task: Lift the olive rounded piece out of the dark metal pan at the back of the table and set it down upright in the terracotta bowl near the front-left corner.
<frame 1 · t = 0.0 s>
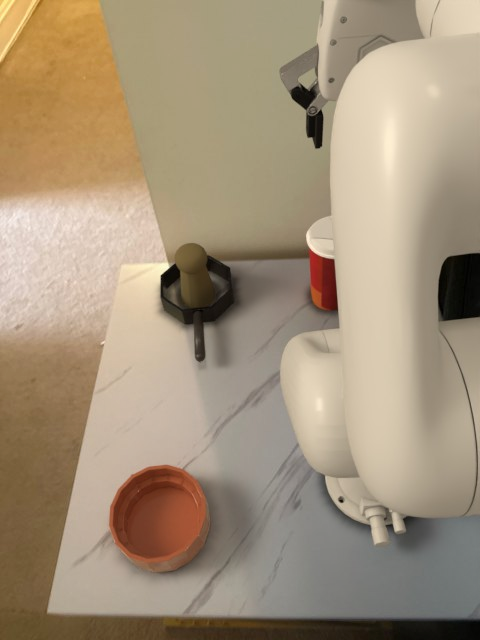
hand: (360, 136, 61), 37 cm above the table, tool pointing down, fingers open, 9 cm apart
olive rounded piece: (198, 296, 97), resting in pan
coffee cup: (328, 297, 95), on the table
beer can: (387, 373, 85), on the table
pan: (198, 295, 97), on the table
bowl: (164, 524, 74), on the table
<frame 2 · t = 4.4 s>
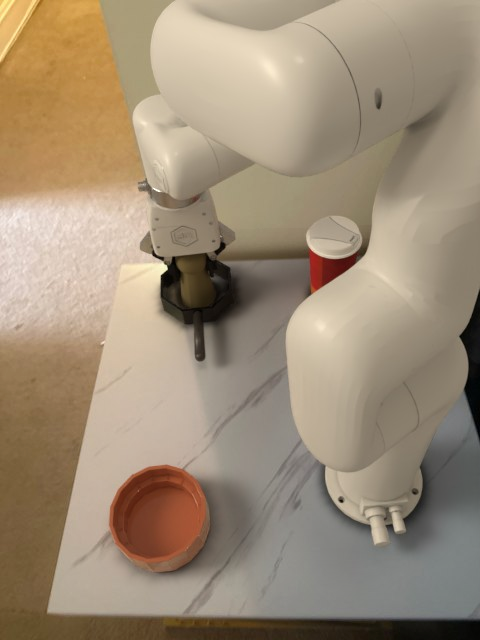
hand: (193, 272, 92), 6 cm above the table, tool pointing down, fingers closed on olive rounded piece, 5 cm apart
olive rounded piece: (198, 296, 97), resting in pan, touching gripper
everything else where it was.
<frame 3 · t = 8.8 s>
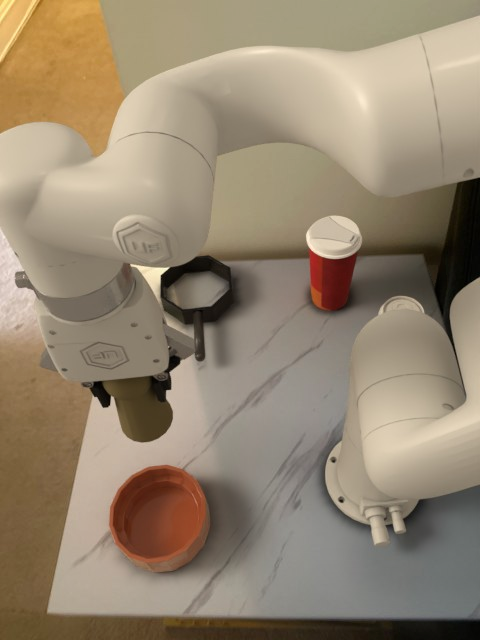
hand: (135, 392, 59), 23 cm above the table, tool pointing down, fingers closed on olive rounded piece, 5 cm apart
olive rounded piece: (147, 418, 64), point 17 cm above the table, touching gripper
everything else where it was.
when the fingers open (6 cm above the table, at t = 13.6 s): olive rounded piece stays where it is, resting on bowl.
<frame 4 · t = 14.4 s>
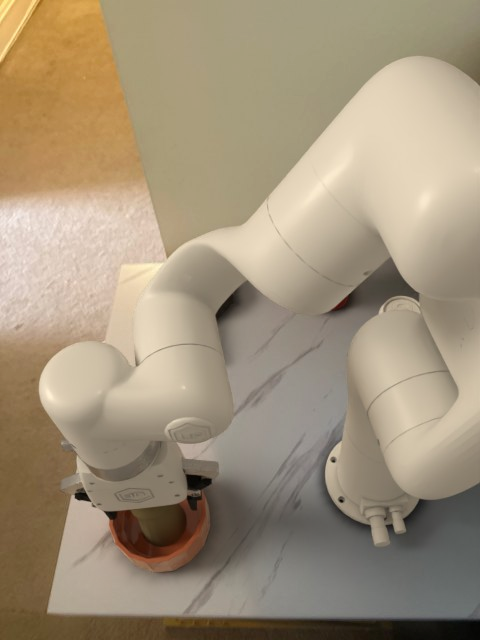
hand: (154, 502, 67), 8 cm above the table, tool pointing down, fingers open, 9 cm apart
olive rounded piece: (164, 523, 73), resting on bowl
everything else where it was.
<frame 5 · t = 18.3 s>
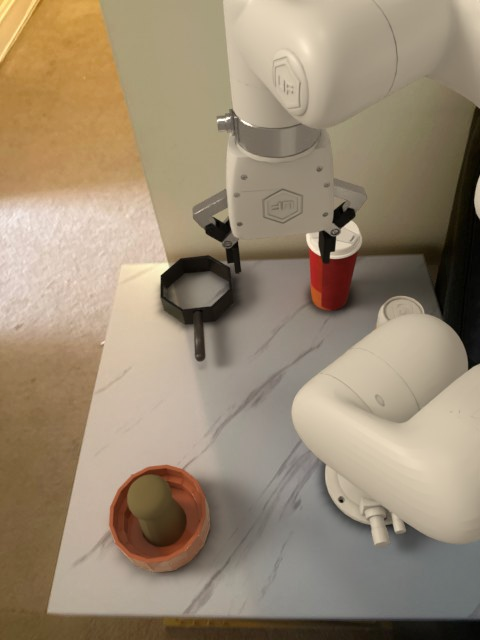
hand: (280, 259, 62), 28 cm above the table, tool pointing down, fingers open, 9 cm apart
nothing on the table moved.
at the end: olive rounded piece 0.0 cm off-centre in the bowl, point 0.3 cm above the bowl's base; olive rounded piece tilted 0° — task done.
